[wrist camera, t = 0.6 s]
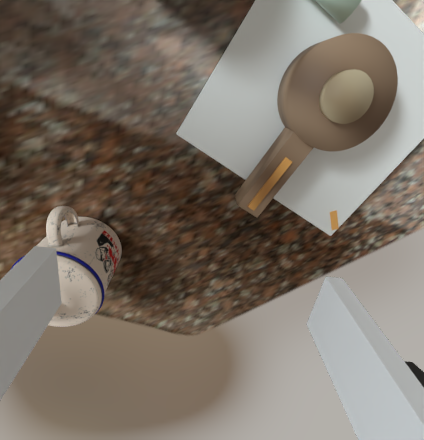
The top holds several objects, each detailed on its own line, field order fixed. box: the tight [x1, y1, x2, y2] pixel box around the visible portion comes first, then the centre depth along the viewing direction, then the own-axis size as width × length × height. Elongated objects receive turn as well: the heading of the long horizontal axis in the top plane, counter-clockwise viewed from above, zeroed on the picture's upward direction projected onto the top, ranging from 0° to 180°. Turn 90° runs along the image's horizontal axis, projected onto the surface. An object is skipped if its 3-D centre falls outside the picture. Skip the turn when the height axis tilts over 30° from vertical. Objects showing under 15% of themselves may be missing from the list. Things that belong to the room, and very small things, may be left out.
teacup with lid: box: [11, 206, 122, 327], centre depth 30 cm, size 12×9×12 cm
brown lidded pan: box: [235, 33, 398, 217], centre depth 26 cm, size 18×9×5 cm, turn 146°
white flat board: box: [176, 0, 424, 236], centre depth 28 cm, size 22×20×4 cm
